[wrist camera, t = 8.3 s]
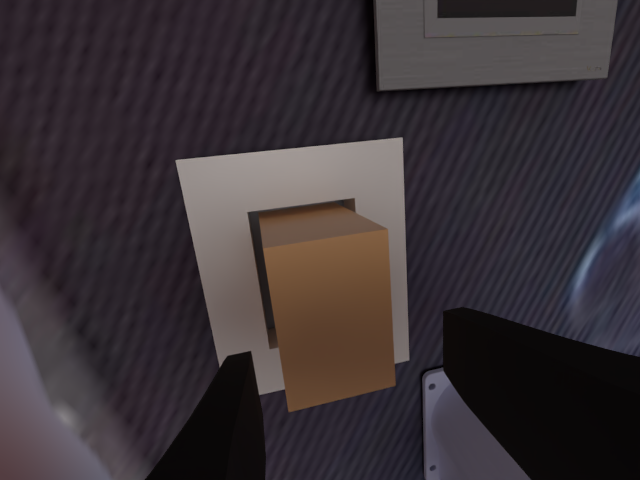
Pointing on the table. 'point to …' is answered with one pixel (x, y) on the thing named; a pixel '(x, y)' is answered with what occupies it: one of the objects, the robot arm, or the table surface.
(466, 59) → the electrical outlet
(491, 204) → the table surface
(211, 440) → the robot arm
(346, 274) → the plug
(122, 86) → the table surface
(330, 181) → the socket block
